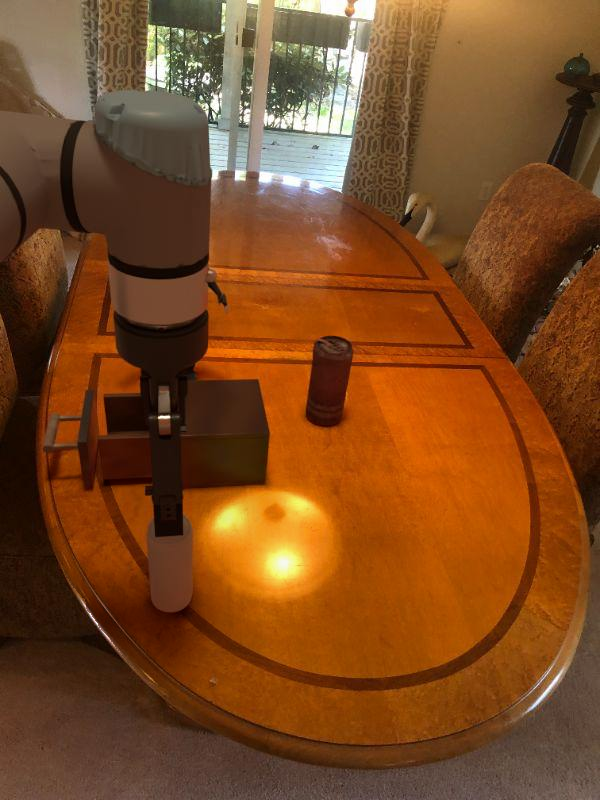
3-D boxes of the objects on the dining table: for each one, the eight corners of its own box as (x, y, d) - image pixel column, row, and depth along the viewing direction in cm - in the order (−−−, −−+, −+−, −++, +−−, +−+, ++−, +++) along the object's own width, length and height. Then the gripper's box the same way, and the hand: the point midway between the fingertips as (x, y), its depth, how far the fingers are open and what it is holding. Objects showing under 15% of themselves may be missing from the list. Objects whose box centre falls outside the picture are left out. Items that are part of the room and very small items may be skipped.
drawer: (45, 487, 82) (36, 443, 78) (56, 433, 91) (48, 390, 87) (185, 480, 86) (184, 438, 81) (182, 428, 95) (182, 387, 90)
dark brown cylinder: (307, 401, 105) (317, 330, 97) (344, 408, 105) (356, 338, 96) (300, 422, 100) (309, 349, 92) (338, 430, 100) (351, 357, 92)
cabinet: (160, 489, 85) (158, 436, 80) (160, 431, 95) (158, 380, 89) (265, 484, 88) (270, 432, 83) (254, 428, 98) (258, 378, 92)
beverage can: (142, 599, 71) (136, 529, 64) (171, 573, 74) (169, 503, 67) (172, 623, 69) (169, 553, 62) (201, 594, 72) (202, 525, 65)
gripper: (216, 373, 43) (211, 582, 56) (202, 259, 57) (201, 446, 71) (104, 375, 41) (126, 589, 55) (119, 257, 56) (134, 449, 70)
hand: (168, 508), depth 63 cm, fingers open, 6 cm apart
